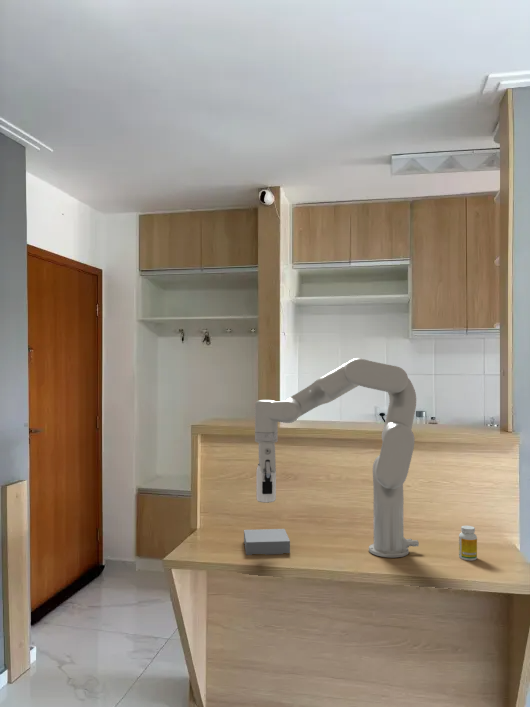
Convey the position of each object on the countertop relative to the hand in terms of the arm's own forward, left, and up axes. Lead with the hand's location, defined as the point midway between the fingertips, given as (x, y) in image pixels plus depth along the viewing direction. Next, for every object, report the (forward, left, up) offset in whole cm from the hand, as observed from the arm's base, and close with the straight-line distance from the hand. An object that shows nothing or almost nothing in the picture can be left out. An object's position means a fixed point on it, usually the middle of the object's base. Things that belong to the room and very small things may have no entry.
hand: (266, 490), depth 191 cm
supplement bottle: (-62, +16, -19) cm, 67 cm away
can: (0, 0, -3) cm, 3 cm away
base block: (0, 0, -19) cm, 19 cm away
